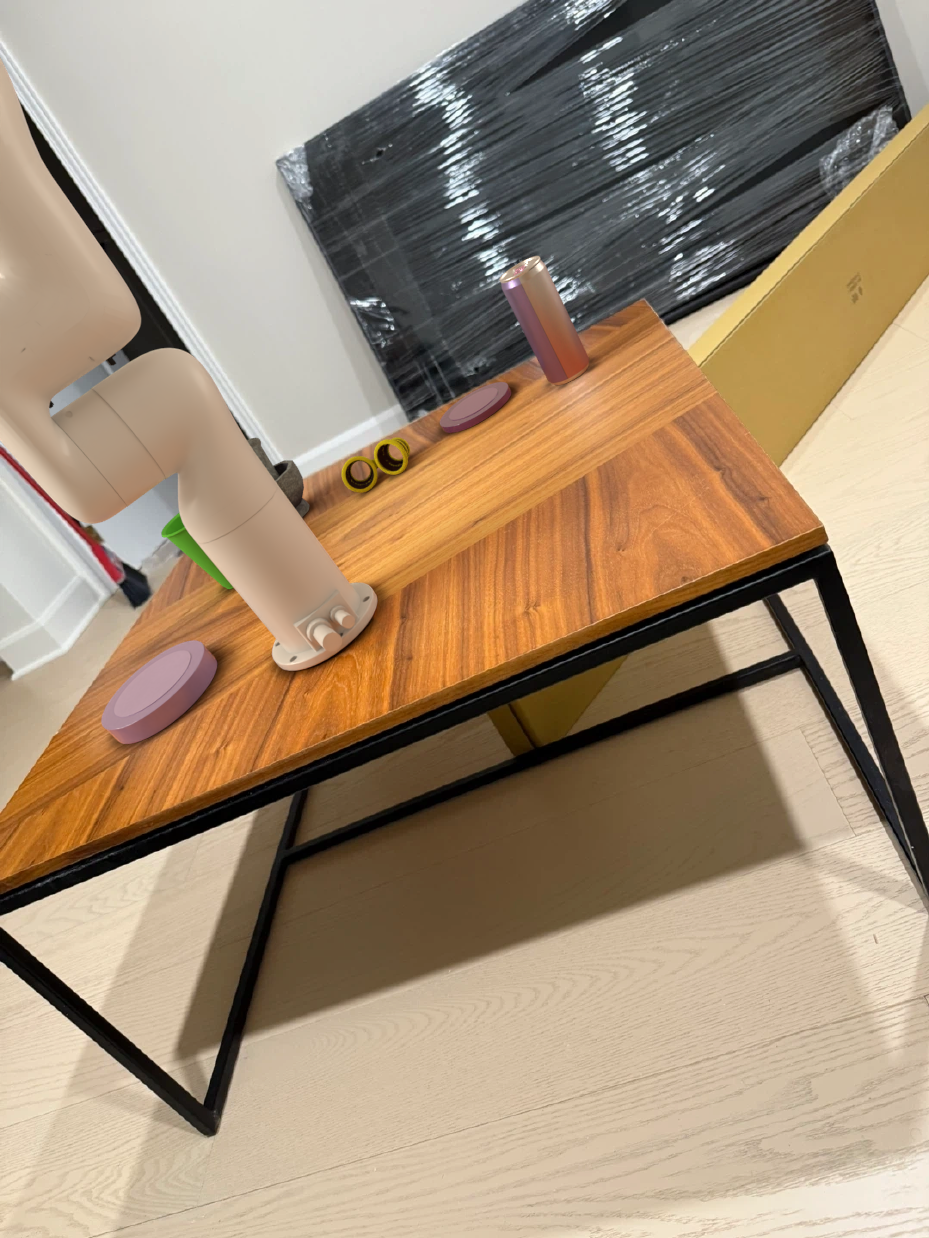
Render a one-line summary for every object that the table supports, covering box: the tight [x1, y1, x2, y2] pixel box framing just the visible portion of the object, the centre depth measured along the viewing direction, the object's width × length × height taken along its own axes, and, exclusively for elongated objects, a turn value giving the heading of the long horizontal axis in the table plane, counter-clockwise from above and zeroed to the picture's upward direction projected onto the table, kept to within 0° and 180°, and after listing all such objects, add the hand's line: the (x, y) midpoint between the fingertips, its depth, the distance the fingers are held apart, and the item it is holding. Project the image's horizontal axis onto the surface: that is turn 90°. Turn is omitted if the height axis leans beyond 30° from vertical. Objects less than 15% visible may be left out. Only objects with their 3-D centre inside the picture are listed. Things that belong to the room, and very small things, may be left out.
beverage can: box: [498, 255, 590, 386], centre depth 106 cm, size 6×6×15 cm
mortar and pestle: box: [246, 437, 310, 518], centre depth 121 cm, size 11×9×12 cm
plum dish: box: [439, 381, 512, 434], centre depth 118 cm, size 11×11×1 cm
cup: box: [160, 512, 234, 590], centre depth 112 cm, size 9×9×11 cm
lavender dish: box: [100, 639, 218, 745], centre depth 95 cm, size 14×14×2 cm
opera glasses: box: [341, 436, 411, 494], centre depth 115 cm, size 10×5×5 cm, turn 92°
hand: (83, 385), depth 110 cm, fingers open, 9 cm apart
